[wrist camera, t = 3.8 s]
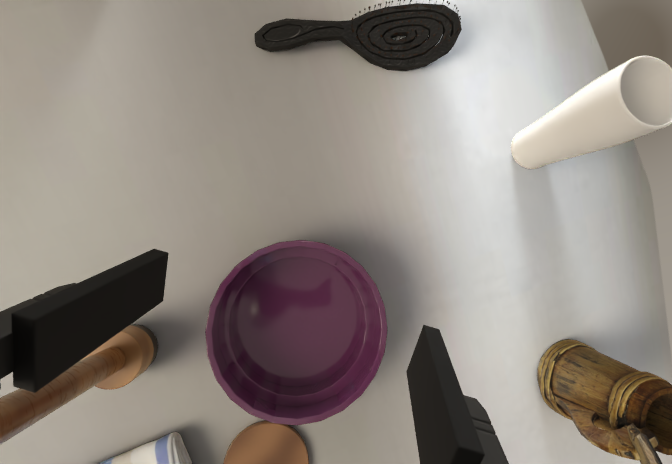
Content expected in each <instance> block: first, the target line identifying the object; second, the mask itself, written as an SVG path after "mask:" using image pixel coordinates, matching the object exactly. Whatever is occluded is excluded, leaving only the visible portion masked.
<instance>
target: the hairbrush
mask: <svg viewBox="0 0 672 464" xmlns="http://www.w3.org/2000/svg"><path fill="white" fill-rule="evenodd" d="M398 1H399V0H398ZM400 1H401V0H400ZM404 1H405V0H404ZM411 1H412V0H410V2H411ZM443 1H444V0H443ZM392 2H393V1H392ZM429 2H430V1H429ZM436 2H437V1H436ZM389 3H390V1H389ZM447 3H448V1H447ZM386 4H387V1H386ZM449 4H450V2H449ZM449 4H448V5H449ZM378 5H379V4H378ZM399 5H400V4H399ZM375 6H376V5H375ZM380 7H381V4H380ZM454 7H455V5H454ZM369 8H370V7H369ZM456 9H457V8H456ZM364 10H365V9H364ZM453 10H454V9H453ZM453 10H451V9H450V8H448V7H446V6H445V5H436V4H423V3H422V4H418V3H417V4H409V5H400V6H398V5H397V6H391V7H389V6H388V7H385V8H382V9H378V10H374V11H371V12H367V13H365V12H364V13H365V14H363V15H361V16H359V17H357V18H355V19H354V18H352V20H350V21H316V20H299V19H283V20H279V21H276V22H272V23H268V24H266V25H264V26H263V27H262V28H261V29H260V30H259V31H257V32H256V33H255V43H256V46H257V47H259V48H262V49H264V50H267V51H270V52H271V51H279V50H286V49H291V48H294V47H298V46H301V45H304V44H307V43H310V42H317V41H332V40H340V41H342V42H343V43H344V44H346V45H347V46H349V47H350V48H351V49H353V50H354V51H355V52H357V53H358V54H359V55H360V56H362V57H363V58H364V59H365V60H367V61H368V62H369V63H371V64H374V65H377V66H379V67H382V68H385V69H387V70H399V71H407V70H412V69H416V68H421V67H425V66H427V65H429V64H430V63H432V62H434V61H436V60H437V59H439V58H440V57H442V56H444V55H445V54H447V53H448V52H449V51H450V50H451V48H452V47H453V46H454V44H455V42H456V40H457V38H458V36H459V34H460V32H461V30H462V29H461V25H460V23H461V22H460V20H459V18H460V17H461V15H460V16H458V14H457V13H458V11H459V10H458V11H457V13H456V11H455V12H454V11H453ZM369 11H370V9H369ZM360 12H361V11H360ZM360 12H359V13H360ZM355 16H356V14H355ZM460 19H461V18H460ZM358 28H359V29H358ZM357 30H358V32H357ZM356 32H357V36H356ZM368 34H369V37H367V35H368ZM442 34H443V36H442ZM428 35H429V37H428ZM396 36H400V37H401V36H406V37H404V38H402V39H399V40H397V41H396V39H395V40H394V39H392V38H393V37H396ZM415 36H416V37H415ZM441 36H442V38H441ZM427 38H428V40H427ZM440 38H441V41H440V42H439V43H438V41H439V40H440ZM264 39H265V40H266V41H265V40H264ZM426 40H427V41H426ZM437 43H438V44H437ZM436 44H437V45H436ZM435 45H436V46H435Z"/></svg>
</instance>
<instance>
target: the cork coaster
mask: <svg viewBox="0 0 672 464" xmlns="http://www.w3.org/2000/svg"><path fill="white" fill-rule="evenodd" d="M224 464H309V459H308V451H307V448H306V445H305V443H304V440H303V439H302V437H301V436H300V435H299V433H298V432H297V431H296V430H295V429H293V428H292V427H290V426H289V425H287V424H277V423H271V422H269V421H262V422H258V423H255V424H253V425H251V426H249V427H247V428H246V429H244V430H243V431H242V432H240V433H239V434H238V435H237V436H236V438H235V439H234V440H233V442H232V443H231V445H230V446H229V448H228V451H227V453H226V456H225V459H224Z"/></svg>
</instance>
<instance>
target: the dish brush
mask: <svg viewBox="0 0 672 464" xmlns="http://www.w3.org/2000/svg"><path fill="white" fill-rule="evenodd" d="M157 350H158V344H157V339H156V337H155V335H154V334H153V333H152V331H151V330H149V329H148V328H146V327H144V326H141V325H129V326H128V327H126V328H125V329H123V330H122V331H121V332H119V333H118V334H116V335H115V336H114V337H112V338H111V339H109V340H108V341H107V342H105V343H104V344H102V345H101V346H100V347H98V348H97V349H96V350H94V351H93V352H91V353H90V354H89V355H87V356H86V357H84V358H83V359H82V360H80V361H79V362H77V363H76V364H75V365H73V366H72V367H71V368H69V369H68V370H66V371H65V372H64V373H62V374H61V375H59V376H58V377H57V378H55V379H54V380H52V381H51V382H50V383H48V384H47V385H45V386H44V387H43V388H41V389H40V390H39V391H37V392H36V393H34V392H30V391H27V390H24V389H21V388H20V389H18V390H16V391H14V392H11V393H9V394H7V395H5V396H3V397H1V398H0V444H2V443H4V442H5V441H7V440H8V439H10V438H12V437H13V436H15V435H16V434H18V433H20V432H21V431H23V430H24V429H26V428H28V427H29V426H31V425H32V424H34V423H36V422H37V421H39V420H40V419H42V418H44V417H45V416H47V415H48V414H50V413H52V412H53V411H55V410H56V409H58V408H60V407H61V406H63V405H64V404H66V403H68V402H69V401H71V400H73V399H74V398H76V397H77V396H79V395H81V394H82V393H84V392H85V391H87V390H89V389H90V388H92V387H93V386H96V387H98V388H101V389H117V388H120V387H123V386H125V385H127V384H128V383H130V382H131V381H132V380H134V379H135V378H136V377H138V376H139V375H140V374H142V373H143V372H144V371H145V370H146V369H147V368H148V366H149V365H150V364H151V363H152V362H153V360H154V359H155V357H156V354H157Z"/></svg>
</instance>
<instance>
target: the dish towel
mask: <svg viewBox="0 0 672 464" xmlns="http://www.w3.org/2000/svg"><path fill="white" fill-rule="evenodd" d="M99 464H192V461H191V459H190V457H189V454H188V452H187V450H186V447H185V445H184V443H183V440H182V437H181V436H180V434H178V433H177V432H173V433H171V434H168V435H166V436H164V437H162V438H160V439H158V440H155V441H152V442H149V443H146V444H144V445H141V446H139V447H137V448H135V449H133V450H130V451H128V452H125V453H123V454H121V455H118V456H116V457H112V458H110V459H108V460H106V461H103V462H101V463H99Z"/></svg>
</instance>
